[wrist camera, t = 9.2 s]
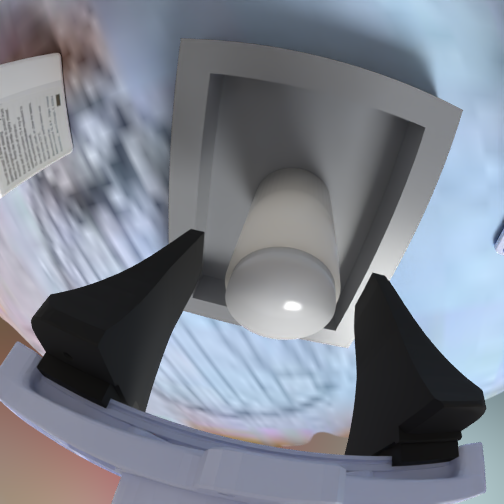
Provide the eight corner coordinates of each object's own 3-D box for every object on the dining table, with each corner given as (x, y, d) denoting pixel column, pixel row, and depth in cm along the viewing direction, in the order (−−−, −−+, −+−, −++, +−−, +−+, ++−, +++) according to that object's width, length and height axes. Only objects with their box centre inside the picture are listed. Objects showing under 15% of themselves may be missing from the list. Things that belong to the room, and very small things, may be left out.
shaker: (340, 179, 16) (361, 274, 9) (318, 243, 18) (318, 351, 12) (262, 159, 16) (227, 241, 9) (249, 226, 18) (215, 327, 12)
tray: (438, 100, 12) (462, 110, 10) (346, 317, 22) (348, 348, 20) (202, 41, 13) (180, 38, 10) (184, 279, 23) (171, 307, 21)
